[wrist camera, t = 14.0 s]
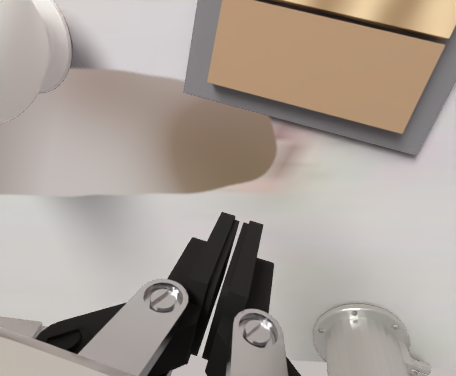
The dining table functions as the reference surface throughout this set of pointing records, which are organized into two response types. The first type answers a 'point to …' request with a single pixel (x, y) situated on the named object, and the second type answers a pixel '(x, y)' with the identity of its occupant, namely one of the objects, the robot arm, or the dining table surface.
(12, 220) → the dining table surface
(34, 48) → the decorative vase
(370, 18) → the board
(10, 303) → the dining table surface
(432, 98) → the floor board
